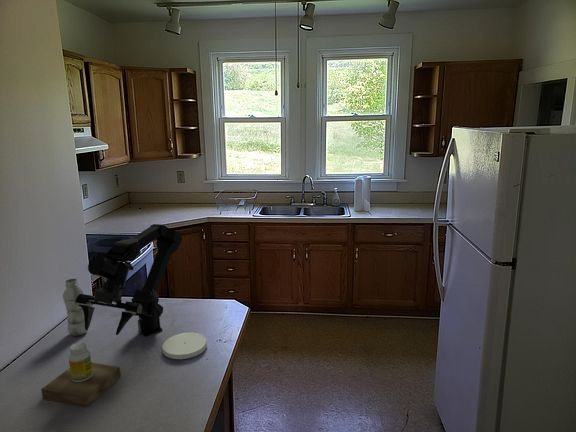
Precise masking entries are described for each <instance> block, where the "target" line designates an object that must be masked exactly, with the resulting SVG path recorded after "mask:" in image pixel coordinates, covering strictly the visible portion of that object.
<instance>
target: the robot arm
mask: <svg viewBox="0 0 576 432" xmlns="http://www.w3.org/2000/svg"><path fill="white" fill-rule="evenodd" d="M154 241H156V249H157V251H156V254H155V257H154V259H153V262H152V263H151V267H150V269H149V272H148V274H147V277H146V279H145V282H144V285H143V287H142V288H141V289H135V291H134V293H133V296H132V298H131V301H127V300H126V301H125V302H122V300H123V299H122V296H123V293H124V291H125V290H126V286H125V285H126V282H127V280H128V279H127V278H128V275H129V272H130V271H134V266H133V265H132V263H131V262H132V261H134V260H135V259H137V258H138V257H139V255H140V254H141V250H143V249H144V248H145V247H147V246H148V245H149V244H151V243H152V242H154ZM182 242H183V238H182V235H181V233H180V231H179V232H178V231H176V230H174V229H173V228H169V227H167V226H166V225H164V224H157V223H156V224H155V223H152V224H150V225H149V227H147V228H146V229H144V230H143V231H141V232H139V233H137V234H136V235H135V236H133V237H131V238H127V239H122V240H119V241H115V242H114V243H113V244H112V246H110V248H109V249H108V250H107V251H106V252H100V251H99V252H97V253H96V255H95V256H94V257H92V258H91V260H90V261H89V262H88V265H87V270H88V273H89V274H91V275H93V276H96V277H100V278H104V279H105V281H103V285H102V286H101V287H99V288H97V289H95V291H94V296H93V295H89V294H85V293H84V294H79V295H77V297H76V299H75V303H80V305H79V306H80V307H82V309H83V312H84V320H85V330H87V331H88V330H89V328H90V326H91V323H92V319H93V315H94V311H95V309H96V308H95V306H94V305H97V306H103V307H110V308H115V309H121V310H122V309H123V310H124V311H123V310H122V311H121V317H120V319H119V323H118V325H117V329H116V332H115V335H116V336H119V335H120V333H121V331H122V330H123V329H124V327H125V326H126V325H127V323H128V322H129V321H130V320H131V319H132V317H133V316H135V317H138V320H137V327H138V332H140V334H142V335H143V337H147V336H151V335H154V334H157V333H159V332H162V331H163V328H162V327H161V322H160V321H161V320H160V317H161V316H162V314H163V313H164V306H162V305H161V304H160V303H159V300H160V298H159V294H158V291H159V288H160V285H161V282H162V279H163V277H164V275H165V273H166V272H165V271H166V269H167V265H168V263H169V261H170V259H171V255H172V254H174V253H175V252H177V251H178V249H179V247H180V245H181V243H182Z"/></svg>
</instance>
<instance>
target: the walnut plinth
mask: <svg viewBox="0 0 576 432" xmlns="http://www.w3.org/2000/svg"><path fill="white" fill-rule="evenodd" d="M91 365H92V372H93V374H92V376H91V377H90V378H89V379H88V380H86V381H83V382H74V381H73V380H72V378H71V371H70V367H68V369H66V370H65V371H64V372H62V373H61V374H59V375H58V376H57V377H56V378H54V379H52V380H51V381H50V382H49V383H48V384H46V385H45V386H44V387H42V388H41V396H42V399H43V400H46V401H47V400H48V401H53V402H56V403H61V404H67V405H72V406H79V407H83V408H87V407H88V406H90V405H91V404H92V403H93V402H94V401H95V400H96V399H97V398H98V397H99V396H101V394H103V393H104V392H105V391H106V390H107V389H108V388H109V387H110V386H112V384H114V383H115V382H116V381H117V380H118V379H119V378H120V377H121V367H120V366H116V365H110V364H106V363H98V362H92V361H91Z"/></svg>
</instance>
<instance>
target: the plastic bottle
mask: <svg viewBox="0 0 576 432" xmlns="http://www.w3.org/2000/svg"><path fill="white" fill-rule="evenodd" d="M64 282H65V287H66V288H65V290H64V291H63V293H62V299H63V302H64V306H65V310H66V315H67V331H68V334H69V335H71V336H73V337H74V336H76V337H77V336H82V335H84V334H86V333H87V332H88V330H85V320H84V312H83V309H82V307H80V306H79V305H80V303H75V299H76V297H77V295H79V294H85V293H84V291H83V289H82V288H80V287H79V286H78V285H79V282H78V279H77V278H69V279H67V280H65V281H64Z"/></svg>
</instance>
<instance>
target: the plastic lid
mask: <svg viewBox="0 0 576 432" xmlns="http://www.w3.org/2000/svg"><path fill="white" fill-rule="evenodd" d="M207 345H208V340H207V338H206V336H205V335H203V334H202V333H200V332H198V333H197V332H191V331H190V332H182V333H178V334H175V335H172V336H170V337H168V338H167V339H166V340H165V341H164V342H163V343H162V353H163V355H164V356H165V357H166V358H169V359H174V360H186V359H190V358H194V357H197V356H199V355H200V354H202V353H203V352H204V351H205V350H207V347H208V346H207Z"/></svg>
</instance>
